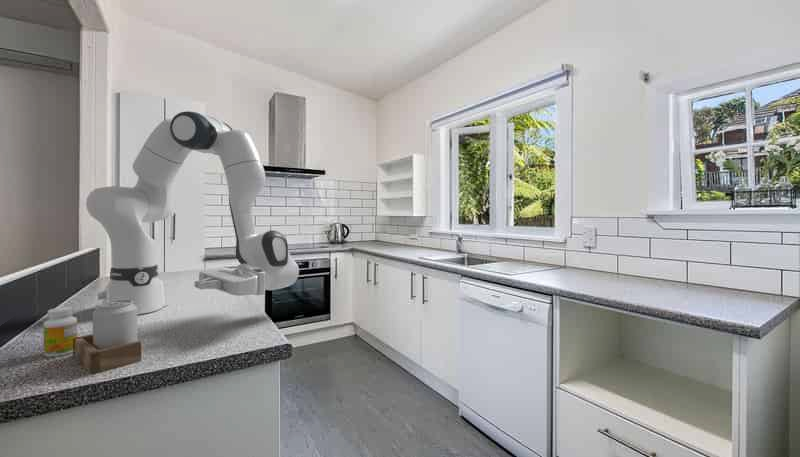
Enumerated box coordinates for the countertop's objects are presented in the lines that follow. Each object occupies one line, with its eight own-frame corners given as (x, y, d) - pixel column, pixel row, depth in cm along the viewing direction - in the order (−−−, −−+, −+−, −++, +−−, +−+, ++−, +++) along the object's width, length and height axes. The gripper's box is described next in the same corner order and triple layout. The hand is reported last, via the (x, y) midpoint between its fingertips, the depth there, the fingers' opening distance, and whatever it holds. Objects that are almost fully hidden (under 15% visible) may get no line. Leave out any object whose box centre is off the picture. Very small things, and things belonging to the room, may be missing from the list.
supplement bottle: (36, 356, 75) (35, 311, 75) (64, 347, 81) (63, 305, 80) (58, 358, 75) (57, 313, 74) (84, 348, 80) (83, 306, 79)
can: (114, 365, 71) (113, 307, 71) (83, 362, 72) (82, 305, 72) (146, 351, 79) (145, 298, 78) (117, 348, 80) (116, 297, 79)
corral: (73, 356, 75) (72, 338, 75) (118, 345, 82) (118, 328, 82) (92, 374, 67) (91, 353, 67) (141, 360, 74) (141, 341, 74)
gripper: (229, 263, 107) (179, 267, 95) (268, 272, 95) (217, 279, 83) (228, 283, 107) (178, 290, 96) (267, 295, 95) (216, 305, 84)
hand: (196, 285), depth 89 cm, fingers closed
